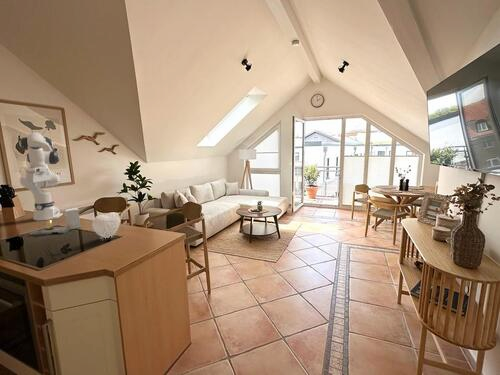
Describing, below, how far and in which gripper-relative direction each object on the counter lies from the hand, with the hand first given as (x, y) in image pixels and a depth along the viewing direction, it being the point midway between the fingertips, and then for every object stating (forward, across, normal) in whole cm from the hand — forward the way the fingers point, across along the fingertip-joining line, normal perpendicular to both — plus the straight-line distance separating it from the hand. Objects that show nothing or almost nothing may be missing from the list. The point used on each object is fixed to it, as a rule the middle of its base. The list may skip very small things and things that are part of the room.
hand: (40, 187), depth 179 cm
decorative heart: (+31, +31, +56) cm, 71 cm away
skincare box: (+31, +3, +21) cm, 38 cm away
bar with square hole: (+31, +12, +10) cm, 35 cm away
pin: (+31, +12, +10) cm, 35 cm away
